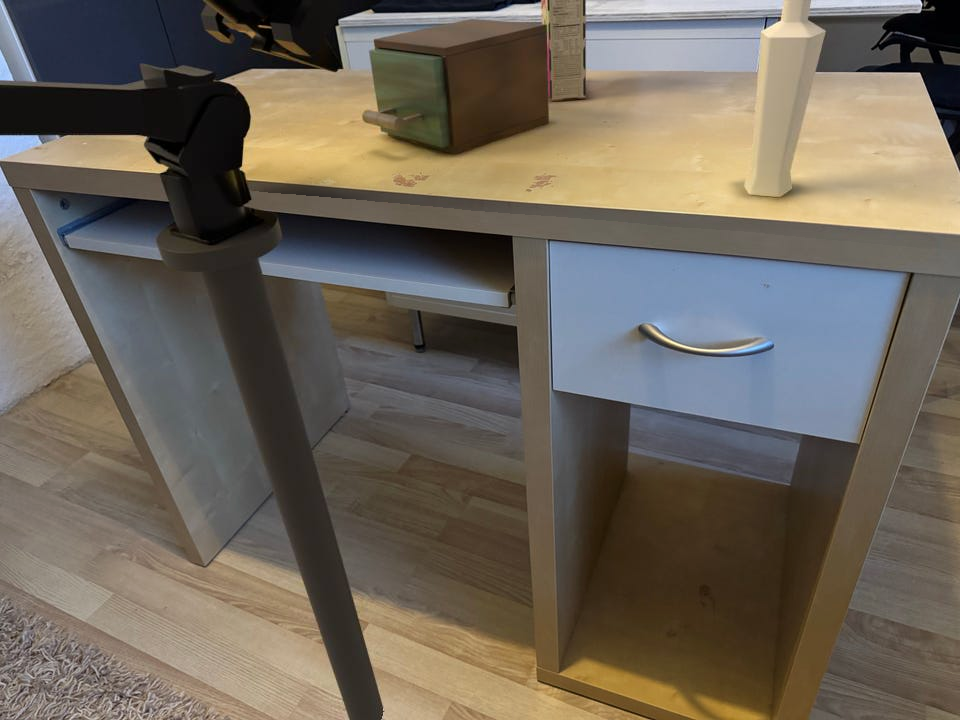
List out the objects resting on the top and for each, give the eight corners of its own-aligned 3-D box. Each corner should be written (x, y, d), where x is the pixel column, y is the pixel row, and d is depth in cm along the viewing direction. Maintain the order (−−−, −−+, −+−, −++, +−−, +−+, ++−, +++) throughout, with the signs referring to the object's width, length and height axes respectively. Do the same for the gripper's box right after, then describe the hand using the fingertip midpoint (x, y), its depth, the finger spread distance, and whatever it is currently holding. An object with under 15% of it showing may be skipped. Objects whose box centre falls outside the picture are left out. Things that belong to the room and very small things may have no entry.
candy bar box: (541, 84, 98) (538, -49, 89) (576, 81, 98) (576, -52, 89) (548, 102, 89) (545, -43, 80) (586, 99, 89) (588, -47, 80)
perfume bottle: (752, 176, 61) (780, -13, 53) (801, 185, 59) (838, -13, 50) (727, 191, 59) (752, -5, 50) (778, 201, 56) (813, -4, 48)
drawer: (413, 157, 71) (401, 66, 66) (353, 139, 78) (338, 56, 73) (531, 118, 80) (528, 36, 75) (467, 106, 87) (461, 30, 82)
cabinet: (455, 154, 73) (445, 47, 68) (387, 136, 82) (373, 39, 76) (549, 122, 81) (547, 24, 75) (478, 108, 89) (471, 18, 83)
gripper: (298, -152, 50) (433, -3, 62) (195, -128, 62) (325, -8, 74) (227, -14, 50) (376, 107, 62) (139, -18, 62) (277, 85, 74)
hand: (337, 67), depth 68 cm, fingers closed
